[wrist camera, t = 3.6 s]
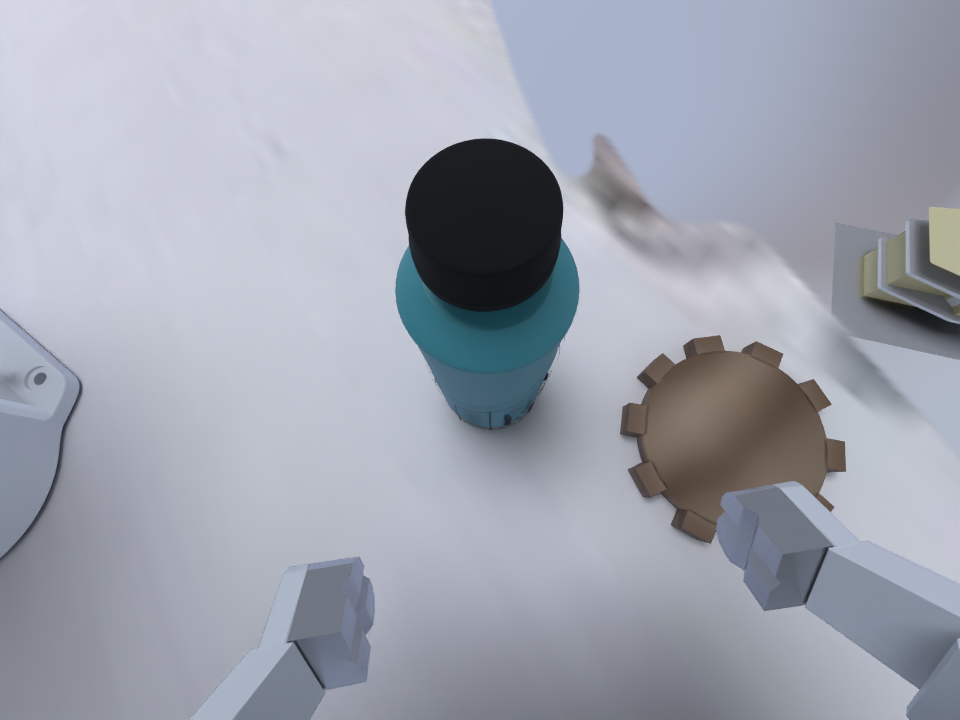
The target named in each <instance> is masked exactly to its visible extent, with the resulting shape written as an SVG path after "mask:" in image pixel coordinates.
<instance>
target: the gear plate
mask: <svg viewBox="0 0 960 720" xmlns="http://www.w3.org/2000/svg"><path fill="white" fill-rule="evenodd" d="M684 350H685V354H686V358H687V359H685V360H683V361H681V362H679V363H678V364H676V365H675V364H674V363H673V362H672V361H671V360H670V359H669V358H668V357H666V356H665V355H664V354H661V355H660V356H658V357H657V358H656V359H654V360H653V361H652V362H651V363H650V364H649V365H648V366H647V367H646V368H645V369H644V370H643V371H642V372H641V373H640V374H639V375H638V376H637V378H638V379H639V380H640V381H642V382H643V383H644V384H645V385H646V386H647V387H648V388H649V389H648V391H647V393H646V394H645V396H644V399H643V401H642V403H641V405H639V404H634V403H629V404H627V405H625V406H623V412H622V421H621V431H620V434H625V435H631V436H636V437H637V442H638V448H639V452H640V456H641V459H642V463H640V464H638V465H636V466H634V467H632V468H630V469H628V471H629V472H630V474H631V476H632V478H633V480H634V482H635V483H636V485H637V487H638V489H639V491H640V493H641V494H642V496H645V497H652V496H654V495H656V494H658V493H660V492H661V494H662V495H663V496H664V497H665V498H666V499H667V500H668V501H669V502H670V503H671V504H673V505H674V506H675V507H676V508H677V512H676V514H675V516H674V519H673V521H672V524H671V525H672V526H674V527H676V528H678V529H680V530H681V531H683V532H685V533H687V534H689V535H691V536H692V537H694V538H696V539H698V540H701V541H704V542H708V543H711V542H712V539H713V537H714V534H715V531H716V526H717V519H718V518H719V517H720V516H721V515H722V514H723V513H724V512H725V510H724V509H723V508H722V506H721V505H720V504H721V500H722V496H723V495H724V494H725V493H727V492H732V491H737V490H743V489H748V488H753V487H759V486H764V485H773V484H779V483H784V482H790V481H796V482H798V483H800V484H801V485H803V486H804V487H805V488H806V489H807V490H808V491H809V492H810V493H811V494H812V495H813V496H814V497H815V498H816V499H817V500H818V501H819V502H820V503H821V504H822V505H823V506H824V507H825V508H827V509H828V510H829V511H830V512H831V511H832V510H833V508H834V506H833V505H832V504H830V503H829V502H828V501H827V500H826V499H825V498H824V497H823V496H821V495H820V494H819V491H820V489H821V487H822V485H823V482H824V479H825V476H826V472H846V462H845V442H844V441H839V440H833V439H828V438H826V435H825V431H824V427H823V424H822V422H821V419H820V416H819V414H818V411H820V410H822V409H824V408H826V407H828V406H830V405H832V404H831V403H830V401H829V400H828V399H827V397H826V396H825V394H824V393H823V392H822V390H821V389H820V387H819V386H818V384H817V383H816V382H815V380H814V379H813V380H809V381H806V382H803V383H800V384H797V383H796V382H795V381H794V380H793V379H791V378H790V377H789V376H788V375H787V374H785V373H784V372H783V371H781V370H780V369H779V368H778V367H779V364H780V362H781V359H782V356H783V354H782V353H780V352H778V351H776V350H774V349H772V348H770V347H767V346H765V345H763V344H761V343H759V342H757V341H756V342H754V343H752V344H750V345H748V346H747V347H745V348H743V350H742V353H739V352H732V351H725V350H724V347H723V343H722V340H721V336H720V335H719V336H711V337H703V338H695V339H692V340H691V341H689V342H688V343H686V344H685V345H684Z"/></svg>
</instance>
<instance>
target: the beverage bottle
mask: <svg viewBox="0 0 960 720" xmlns="http://www.w3.org/2000/svg"><path fill="white" fill-rule="evenodd" d="M405 216H406V224H407V229H408V234H409V247H408V248H407V250H406V251H405V253H404V255H403V258H402V260H401V262H400V265H399V268H398V272H397V278H396V290H395V293H396V303H397V307H398V311H399V314H400V317H401V319H402V322H403V324H404V326H405V328H406V330H407V331H408V333H409V335H410V336H411V337H412V339H413V340H414V342H415V343H416V344H417V345H418V347H419V349H420V350H421V352H422V354H423V356H424V358H425V360H426V361H427V363H428V365H429V367H430V369H431V370H432V373H433V375H434V377H435V378H434V379H436V381H437V384H438V385H439V387H440V389H441V391H442V393H443V395H444V397H445V398H446V400H447V402H448V404H449V405H450V407H451V408H452V410H453V411H454V412H455V413H456V414H457V415H458V416H459V418H460V417H461V418H462V419H464V420H466V421H467V422H469V423H471V424H474V425H476V426H477V427H479V426H481V427H483V428H484V427H490V429H491V427H499V426H505V425H508V424H511V423H512V422H514V421H516V420H517V419H519V418H520V417H521V416H523V415H524V414H525V413H526V412H527V411H528V412H530V410H531V409H532V406H533V404H534V402H535V401H534V400H535V399H536V398H537V396H536V395H537V394H539V393H541V392H539V393H538V391H540V390H539V389H540V387H541V386H542V383H543V381H545V380H547V377H548V373H547V372H548V370H549V368H550V366H551V364H552V362H553V360H554V358H555V355H556V353H557V350H558V347H559V344H560V342H561V340H562V339H563V337H564V336H565V334H566V333H567V331H568V329H569V327H570V326H571V324H572V321H573V318H574V316H575V313H576V310H577V305H578V300H579V278H578V273H577V268H576V265H575V262H574V259H573V256H572V254H571V252H570V250H569V248H568V247H567V245H566V244H565V242H564V241H563V239H562V238H561V226H562V219H563V200H562V195H561V191H560V187H559V185H558V182H557V180H556V178H555V176H554V174H553V173H552V171H551V170H550V169H549V167H548V166H547V165H546V164H545V163H544V162H543V161H542V160H541V159H540V158H539V157H537V156H536V155H535V154H534V153H532V152H530V151H529V150H527V149H525V148H523V147H521V146H519V145H517V144H514V143H511V142H507V141H503V140H498V139H473V140H468V141H463V142H460V143H457V144H454V145H452V146H449V147H447V148H445V149H444V150H442V151H440V152H438V153H437V154H436V155H434V156H433V157H432V158H430V159H429V160H428V161H427V162H426V163H425V164H424V165H423V166H422V167H421V169H420V170H419V171H418V173H417V174H416V175H415V177H414V179H413V181H412V183H411V185H410V188H409V191H408V195H407V200H406V207H405ZM564 339H565V338H564ZM559 352H560V351H559ZM560 353H561V352H560ZM557 360H558V359H557ZM426 365H427V364H426ZM430 372H431V371H430ZM550 374H551V373H550ZM549 376H550V375H549ZM432 380H433V379H432ZM436 381H435V383H436ZM545 382H546V381H545ZM544 384H545V383H544ZM544 384H543V385H544ZM544 386H545V385H544ZM436 387H437V386H436ZM542 390H543V388H542V389H541V391H542ZM439 392H440V391H439ZM440 394H441V393H440ZM539 395H540V394H539ZM539 395H538V396H539ZM538 398H539V397H538ZM537 400H538V399H537ZM536 402H537V401H536ZM534 405H535V404H534ZM528 412H527V413H528ZM524 416H526V415H524ZM460 420H461V419H460ZM521 420H522V419H521ZM461 421H462V420H461ZM518 422H519V421H518ZM464 423H465V422H464ZM513 424H514V423H513ZM468 425H469V424H468ZM511 425H512V424H511ZM470 426H471V425H470ZM473 427H474V426H473ZM477 427H476V428H477ZM505 427H506V426H505ZM479 428H480V427H479ZM501 428H502V427H500V429H501ZM481 429H482V428H481Z"/></svg>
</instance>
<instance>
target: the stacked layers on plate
mask: <svg viewBox="0 0 960 720" xmlns="http://www.w3.org/2000/svg"><path fill="white" fill-rule="evenodd" d="M832 289H833V290H832V309H831V315H832V316H833V317H835V319H836V320H837V321H838V323H839V324H840V325H841V326H842V327H843V328H844V329H845V330H846V331H847V332H848V333H849V335H850V336H852V337H856V338H861V339H866V340H870V341H875V342H879V343H884V344H888V345H893V346H897V347H902V348H907V349H911V350H915V351H920V352H925V353H929V354H934V355H938V356H943V357H947V358H952V359H957V360H960V209H950V208H938V207H930V208H929V220H916V219H915V220H914V219H911V220H909V221H907V222H906V231H904V232H903V233H901V234H899V235H896V234H891V233H886V232H881V231H876V230H870V229H866V228H861V227H855V226H851V225H846V224H840V223H836V224H835V245H834V266H833V288H832Z"/></svg>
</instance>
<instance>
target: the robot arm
mask: <svg viewBox="0 0 960 720" xmlns="http://www.w3.org/2000/svg"><path fill="white" fill-rule="evenodd" d="M45 379H46V381H45ZM78 392H79V381H78V379H77V377H76V376H75V375H74V374H73V373H71V372H70V371H69V370H68V369H67V368H66V367H65V366H63V365H62V364H61V363H60V362H59V361H58V360H57V359H55V358H54V357H53V356H52V355H51V354H50V353H49V352H47V351H46V350H45V349H44V348H43V347H42V346H41V345H40V344H38V343H37V342H36V341H35V340H34V339H33V338H32V337H30V336H29V335H28V334H27V333H26V332H25V331H24V330H22V329H21V328H20V327H19V326H18V325H17V324H16V323H14V322H13V321H12V320H11V319H10V318H9V317H8V316H6V315H5V314H4V313H3V312H2V311H1V310H0V558H1V557H2V556H3V555H4V554H5V553H6V552H7V551H8V550H9V549H10V548H11V547H12V546H13V545H14V544H15V543H16V542H17V541H18V540H19V539H20V537H21V536H22V535H23V534H24V533H25V531H26V530H27V529H28V527H29V526H30V525H31V523H32V522H33V520H34V519H35V517H36V516H37V514H38V512H39V511H40V509H41V507H42V505H43V503H44V501H45V499H46V497H47V495H48V493H49V490H50V487H51V485H52V482H53V479H54V476H55V472H56V468H57V463H58V457H59V447H60V438H61V433H62V428H63V425H64V423H65V421H66V419H67V417H68V415H69V413H70V411H71V409H72V407H73V405H74V403H75V401H76V398H77V396H78ZM720 505H721V506H722V508H723V509H724V510H725V512H724V513H723V514H722V515H721V516H720V517H719V518H718V519H717V526H716V531H717V535H718V540H719V543H720V545H721V547H722V549H723V551H724V553H725V554H726V556H727V558H728V559H729V561H730V562H731V563H733V564H735V565H736V566H738V567H739V568H741V569H743V570H744V579H743V581H744V583H745V584H746V586H747V587H748V588H749V590H750V591H751V593H752V594H753V596H754V597H755V599H756V600H757V601H758V603H759V604H760V606H761V607H762V609H763V610H764V611H767V610H774V609H781V608H788V607H795V606H801V605H806V606H805V608H806V609H808V610H809V611H811V612H812V613H813V614H815V615H816V616H818V617H819V618H820V619H822V620H823V621H825V622H826V623H827V624H829V625H830V626H832V627H833V628H834V629H836V630H837V631H839V632H840V633H841V634H843V635H844V636H846V637H847V638H848V639H850V640H851V641H853V642H854V643H855V644H857V645H858V646H859V647H861V648H862V649H864V650H865V651H866V652H868V653H869V654H871V655H872V656H873V657H875V658H876V659H878V660H879V661H880V662H882V663H883V664H885V665H886V666H887V667H889V668H890V669H892V670H893V671H894V672H896V673H897V674H899V675H900V676H901V677H903V678H904V679H906V680H907V681H908V682H910V683H911V684H913V685H914V686H915V687H917V688H918V689H920V690H919V691H918V692H917V694H916V695H915V697H914V698H913V699H912V701H911V702H910V703H909V705H908V706H907V713H906V716H907V717H908V718H909V720H960V584H959V583H957V582H955V581H953V580H950V579H948V578H946V577H944V576H942V575H940V574H938V573H935V572H933V571H931V570H929V569H927V568H925V567H923V566H921V565H918V564H916V563H914V562H912V561H910V560H908V559H906V558H903V557H901V556H899V555H897V554H895V553H893V552H891V551H889V550H886V549H884V548H882V547H880V546H878V545H876V544H874V543H872V542H869V541H867V542H861V541H860V540H859V539H858V538H857V537H856V536H855V535H854V534H852V533H851V532H850V531H849V530H848V529H847V528H846V527H845V526H844V525H843V524H842V523H841V522H840V521H839V520H838V519H837V518H836V517H835V516H834V515H833V514H832V513H831V512H830V511H829V510H828V509H827V508H825V507H824V506H823V505H822V504H821V503H820V502H819V501H818V500H817V499H816V498H815V497H814V496H813V495H812V494H811V493H810V492H809V491H808V490H807V489H806V488H805V487H804V486H803V485H801V484H800V483H798V482H796V481H790V482H784V483H779V484H773V485H764V486H759V487H753V488H748V489H743V490H737V491H732V492H727V493H725V494H724V495H723V496H722V500H721V504H720ZM363 570H364V565H363V563H362V561H361V558H360V557H354V558H347V559H340V560H333V561H326V562H319V563H312V564H306V565H299V566H293V567H288V569H287V570H286V571H285V573H284V574H283V576H282V579H281V582H280V585H279V588H278V591H277V594H276V597H275V600H274V603H273V605H272V608H271V611H270V614H269V617H268V620H267V623H266V626H265V629H264V632H263V635H262V638H261V641H260V644H259V647H258V648H255V649H251V650H250V651H249V652H248V653H247V654H246V656H245V657H244V658H243V659H242V660H241V661H240V662H239V663H238V665H237V666H236V667H235V668H234V669H233V670H232V671H231V673H230V674H229V675H228V676H227V677H226V678H225V679H224V681H223V682H222V683H221V684H220V685H219V686H218V687H217V689H216V690H215V691H214V692H213V693H212V694H211V695H210V697H209V698H208V699H207V700H206V701H205V702H204V703H203V705H202V706H201V707H200V708H199V709H198V710H197V711H196V713H195V714H194V715H193V716H192V717H191V718H190V719H189V720H310V718H311V716H312V715H313V713H314V711H315V710H316V708H317V706H318V705H319V703H320V701H321V699H322V698H323V696H324V694H325V691H324V690H329V689H333V688H338V687H343V686H348V685H353V684H357V683H362V682H366V679H367V671H368V663H369V655H370V647H371V646H370V644H369V642H368V640H367V638H366V634H367V633H368V631H369V630H370V628H371V627H372V626H373V622H374V612H375V605H374V592H373V587H372V584H371V582H370V579H369V578H367V577H365V576H363Z"/></svg>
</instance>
